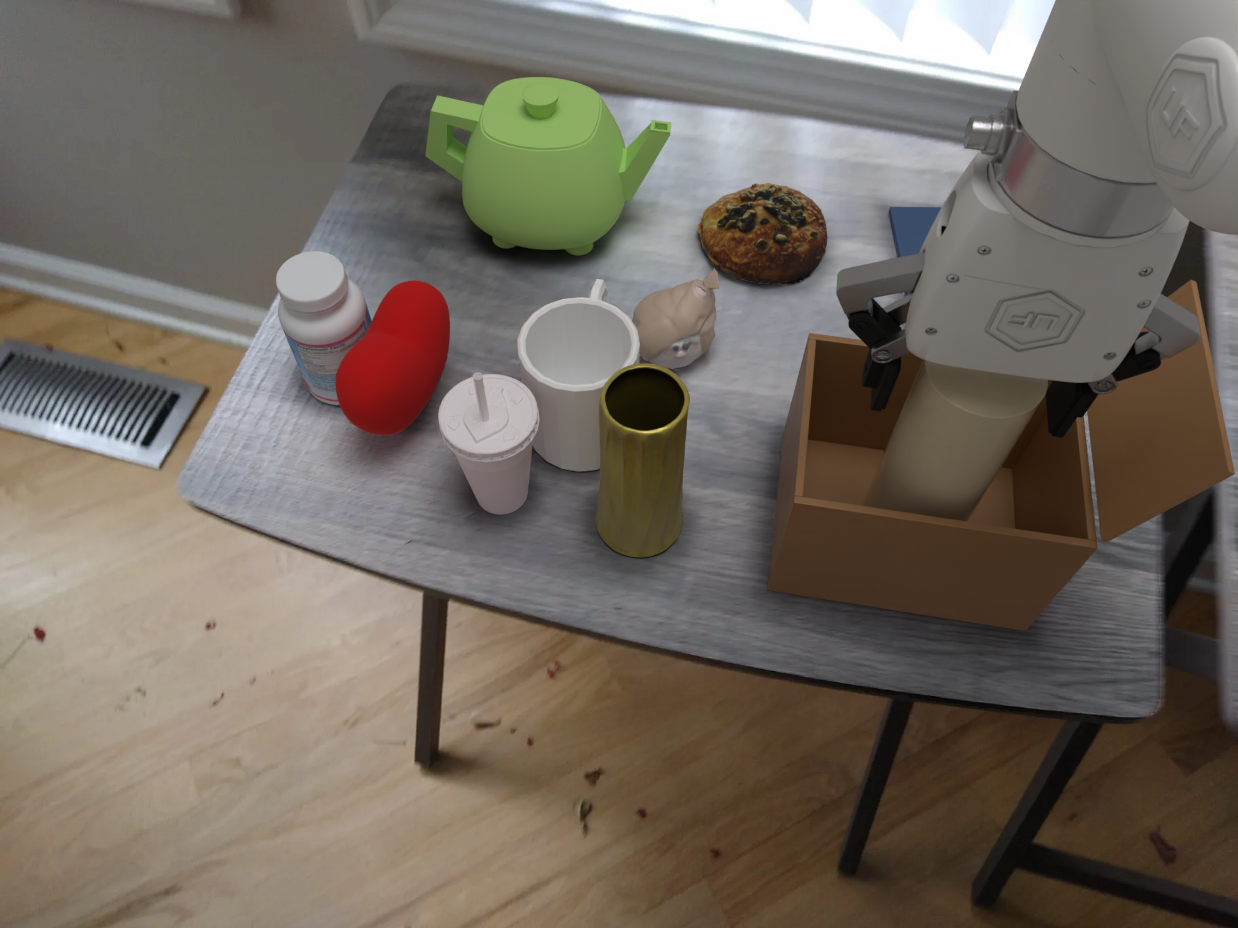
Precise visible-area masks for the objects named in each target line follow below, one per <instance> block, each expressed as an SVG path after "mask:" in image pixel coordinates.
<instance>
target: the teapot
mask: <svg viewBox="0 0 1238 928" xmlns="http://www.w3.org/2000/svg"><path fill="white" fill-rule="evenodd" d="M454 128H457V129H462V130H465V131H468V132H471V133H470V135H469V137H468V138H469V139H468V142H467V145H465V144H463V143H462V142H461V141H459V140H458V139H456V138H455V137H454ZM671 131H672V122H671V121H666V120H665V121H663V120H656V119H651V121H650V123H649V124H648V125H647V126H646V127H645V128H644V129H643V130H642V132H641V133H639V134H638V136H637V137H635V139H633V141H632V142H631V143H630V144H629V145H628V146H627V147H626V143H625V139H624V137H623V134H622V131H621V129H620V127H619V125H618V123H617V120H616V119H615V117H614V116H613V113H612V112H611V110H610V109H609V106H608V105H607V103H606V102H605V101H604V100H603V98H602V96H601V95H600V94H599V93H598V92H597V91H596V90H595V89H594V88H591V87H590V86H587V85H585V84H583V83H580V82H576V81H573V80H568V79H564V78H559V77H557V78H556V77H549V76H531V77H530V76H529V77H519V78H513V79H509V80H505V81H503V82H501V83H499V84H498V85H496V86H495V87H494V88H492V90H491V91H490V92H489V94H488V96H487V98H486V99H485V102H484V104H478V103H474V102H469V101H464V100H459V99H456V98H451V97H447V96H441V95H438V94H437V95H436V98H435V100H434V102H433V105H432V107H431V109H430V114H429V122H428V130H427V138H426V144H425V145H426V147H425V155H424V156H425V158H427V159H428V160H430V161H431V162H433V163H434V164H435V165H437V166H439V167H440V168H441V169H443V170H444V171H446V172H447V173H449V174H450V175H452V176H453V177H454V178H456V179H457V180H458V181H460V182H461V191H462V192H461V197H462V204H463V208H464V210H465V212H466V214H467V216H468V218H469V219H470V220H471V221H472V222H473V224H474V225H475V226H477V227H478V228H479V229H481V230H482V231H483V232H484V233H486V234H487V235H489V236H491V237H492V242H493V244H494V245H495V246H497V247H499V248H502V249H512V248H515V247H522V248H526V249H533V250H545V251H547V250H551V251H553V250H565V251H566V252H567V253H568V254H570V255H573V256H583V255H587V254H589V253H590V252H591V251H592V250H593V249H594V242H596V241H598V240H600V239H601V238H602V237H603V236H604V235H606V234H607V233H608V232H610V230H611V229H612V228H613V226H614V225H615V224H616V223H617V222H618V220H619V218H620V217H621V214H622V211H623V209H624V206H625V203H626V202H630V201H632V200H633V198H634V196H635V195H636V193H637V192H638V190H639V188H640V187H641V185H642V183H643V182H644V180H645V178H646V177H647V175H648V173H649V171H650V170H651V168H652V166H653V165H654V163H655V161H656V160H657V158H658V156H659V155H660V154H661V152H662V150H663V149H664V147H665V144H666V143H667V142H668V140H669V138H670V136H671V133H672V132H671Z"/></svg>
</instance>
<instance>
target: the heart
mask: <svg viewBox="0 0 1238 928" xmlns="http://www.w3.org/2000/svg"><path fill="white" fill-rule="evenodd" d="M371 320H372V322H371V324H370V326H369V329H368V331H367V333H366V335H365V336H364V338H362V339H361V340H360V341H358V342H357V343H356V344H355V345H354V346H353V347H352V348H351V349H350V350H349V351H348V353H347V354H346V355H345V356H344V358H343V360H342V361H341V363H340V365H339V367H338V370H337V373H336V381H335V386H336V394H337V399H338V402H339V405H338V406H339V407H340V409H341V411H342V413H343V415H344V416H345V417H346V419H347V420H348V421H349V422H350V424H352V425H353V426H354V427H355V428H357V429H359V430H361V431H363V432H365V433H368V434H370V435H375V436H391V435H396V434H398V433H401V432H402V431H404V430H405V429H407V428H408V427H409V426H411V424H412V423H413V422H414V421H415V420H416V419H417V418H418V416H419V415H420V414H421V413H422V412H423V410H424V408H425V407H426V405H427V404H428V403H429V402H430V399H431V398H432V396H433V394H434V392H435V390H436V388H437V386H438V384H439V381H440V380H441V377H442V374H443V372H444V369H445V366H446V364H447V359H448V355H449V349H450V341H451V338H450V337H451V316H450V311H449V306H448V303H447V300H446V298H445V297H444V295H443V294H442V292H441V291H440V290H439V289H438V288H437V287H435V286H434V285H432V284H431V283H429V282H426V281H423V280H417V279H415V280H405V281H402V282H399V283H397V284H396V285H394V286H393V287H392V288H391V289H389V291H387V293H386V294H385V295H384V296H383V298H382V299H381V301H380V303H379V305H378V307H377V309H376V311H375V313H374V315H373V318H371Z"/></svg>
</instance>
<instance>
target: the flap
mask: <svg viewBox="0 0 1238 928" xmlns="http://www.w3.org/2000/svg"><path fill="white" fill-rule="evenodd" d="M1198 288H1199V287H1198V283H1197V281H1195V280H1193V279H1189V280H1188V281H1187V282H1186V283H1184V284H1183V285H1182V286H1180V287H1179V288H1178V289H1176V290H1175V291H1174V292H1172V293H1171V294H1169V295H1168V296H1166V297H1167V298H1169V299H1170V300H1172V301H1174V302H1175V303H1177V304H1178V305H1180V306H1182V307H1183V308H1185V309H1186V310H1188V311H1190V312H1191V313H1193V314H1195V315H1196V316H1197V318H1198V323H1199V328H1200V334H1201V339H1200V341H1199V342H1198V343H1196V344H1194V345H1193V346H1191V347H1189V348H1187V349H1185V350H1184V351H1182V352H1180V353H1178V354H1176V355H1174V356H1173V357H1171V358H1167V357H1166V358H1165V359H1163V360H1161V365H1160V366H1159V367H1158V368H1157V369H1155V370H1153V371H1150V372H1147V373H1143V374H1140V375H1137V376H1134V377H1131V378H1128V379H1125V380H1121V381H1118V382H1117V385H1118V386H1117V389H1116V390H1115V391H1113V392H1111V393H1108V394H1099V395H1098V396H1097V397H1096V399H1095V400H1094V402H1093V403H1092V405H1091V406H1090V407H1089V409H1088V410H1087V412H1086V413H1087V423H1088V432H1089V442H1090V451H1091V460H1092V469H1093V479H1094V487H1095V497H1096V505H1097V515H1098V524H1099V526H1098V527H1099V534H1100V540H1101V541H1102V542H1104V543H1109V542H1110V541H1113V540H1114V539H1116V538H1118V537H1120V536H1122V535H1124V534H1126V533H1127V532H1129V531H1131V530H1133V529H1135V528H1137V527H1139V526H1141V525H1143V524H1144V523H1146V522H1148V521H1151V520H1152V519H1154V518H1156V517H1158V516H1160V515H1161V514H1163V513H1165V512H1167V511H1169V510H1171V509H1173V508H1175V507H1176V506H1178V505H1180V504H1182V503H1184V502H1186V501H1188V500H1190V499H1191V498H1193V497H1195V496H1197V495H1199V494H1200V493H1203V492H1204V491H1206V490H1208V489H1210V488H1212V487H1215V486H1216V485H1218V484H1220V483H1221V482H1224V481H1225V480H1228V479H1229V478H1231V477H1233V476H1234V475H1236V471H1235V467H1234V462H1233V458H1232V452H1231V446H1230V443H1229V438H1228V437H1229V436H1228V432H1227V427H1226V422H1225V417H1224V413H1223V412H1224V411H1223V407H1222V402H1221V398H1220V397H1221V396H1220V393H1219V387H1218V381H1217V378H1216V373H1215V368H1214V362H1213V357H1212V352H1211V348H1210V343H1209V338H1208V333H1207V332H1208V331H1207V327H1206V323H1205V318H1204V313H1203V309H1202V304H1201V303H1202V302H1201V299H1200V293H1199V289H1198ZM1140 332H1149V330H1148V329H1146V328H1144V327H1143V328H1142V330H1141V331H1140Z"/></svg>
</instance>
